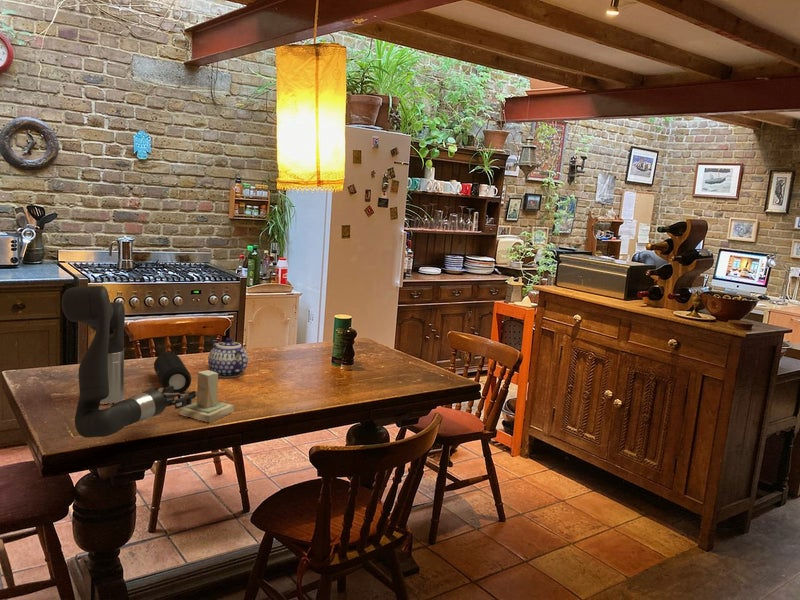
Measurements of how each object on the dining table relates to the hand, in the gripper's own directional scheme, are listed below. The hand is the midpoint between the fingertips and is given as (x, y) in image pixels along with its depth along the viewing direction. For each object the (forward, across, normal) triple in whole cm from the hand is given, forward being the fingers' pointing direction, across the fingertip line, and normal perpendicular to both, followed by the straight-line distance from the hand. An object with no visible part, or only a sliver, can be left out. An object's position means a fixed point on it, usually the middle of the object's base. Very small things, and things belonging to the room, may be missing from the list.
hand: (183, 391), depth 197 cm
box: (+11, 0, +8) cm, 13 cm away
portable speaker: (+27, +29, +11) cm, 41 cm away
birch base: (+11, 0, +10) cm, 15 cm away
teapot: (+50, +22, +11) cm, 56 cm away
